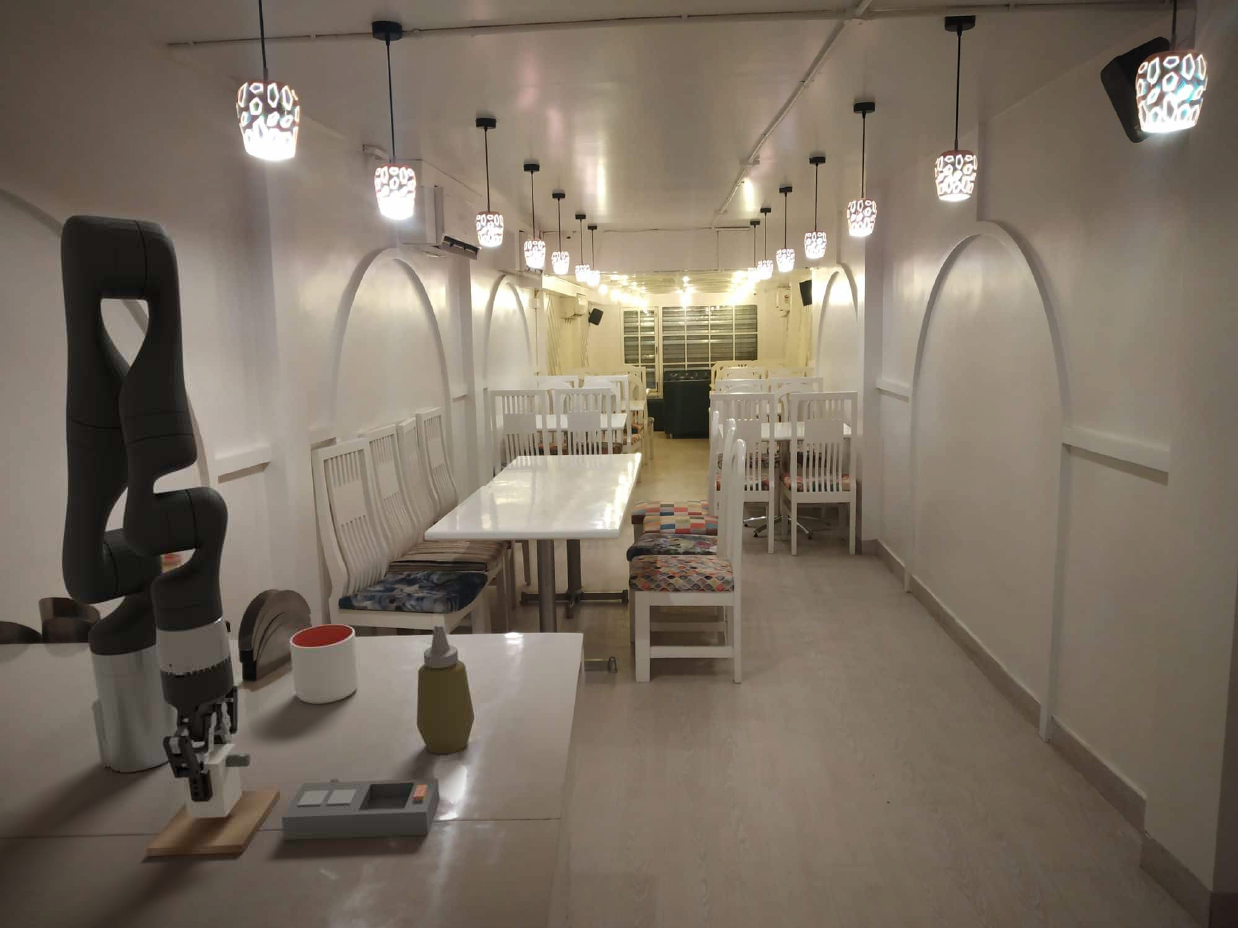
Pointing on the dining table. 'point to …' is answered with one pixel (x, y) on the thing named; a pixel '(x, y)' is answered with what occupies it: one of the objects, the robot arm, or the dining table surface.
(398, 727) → the dining table surface
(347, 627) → the cup
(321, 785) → the power strip
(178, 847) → the walnut board
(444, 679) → the squeeze bottle
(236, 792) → the block
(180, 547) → the robot arm
